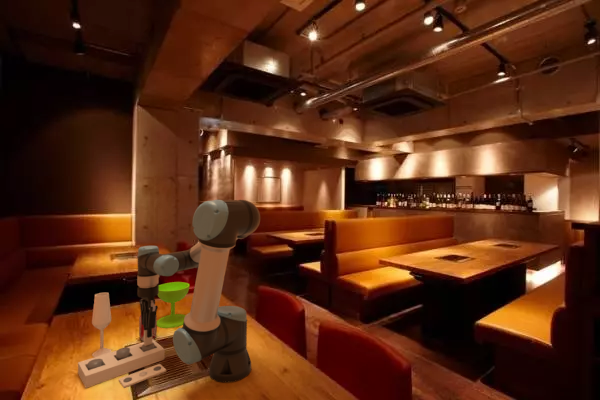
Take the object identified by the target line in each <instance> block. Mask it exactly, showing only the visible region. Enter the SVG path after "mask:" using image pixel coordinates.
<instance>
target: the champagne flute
mask: <svg viewBox="0 0 600 400" xmlns="http://www.w3.org/2000/svg"><path fill="white" fill-rule="evenodd" d="M93 301H94V303H93V311H92V318H91V324H92V326H93V327H94V328H95V329H97V330H99V346H100V347H99V348H98V349H97V350H96V351H94V352H93V353H92V358H94V357H97V356H101V355H104V354H107V353H110V352H112V349H111V348H107V347H105V346H104V345H105V344H104V341H105V340H104V338H105V337H104V335H105V334H104V333H105V332H104V330H105V329H106V328H107V327H108V326H109V325H110V323H111V322H112V313H111V311H112V310H111V304H110V302H111V301H110V294H109V292H99V293H95V294H94V299H93Z"/></svg>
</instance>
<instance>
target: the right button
mask: <svg viewBox="0 0 600 400" xmlns="http://www.w3.org/2000/svg"><path fill="white" fill-rule="evenodd" d="M151 349H154V343H153V342H152V344H150V345H147V346H145V345H144V344H143V345H142V351H143V352H145V351H148V350H151Z"/></svg>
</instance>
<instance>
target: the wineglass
mask: <svg viewBox="0 0 600 400" xmlns="http://www.w3.org/2000/svg"><path fill="white" fill-rule="evenodd" d="M158 285H159V293H158V295H157V297H158V298H159V299H160V300H161V301H163V302H165V303H167V304H170V314H169V315H164V316H162V317H160V318H159V319H157V328H161V329H173V328H180V327H183V323H184V318H185V316H186V315H187V314H182V313H176V303H177V302H180V301H181V300H183V299H184V298H185V297H186V295H187V294H188V293H189V289H190V283H188V282H182V281H174V282H173V281H172V282H167V283H162V284H158Z"/></svg>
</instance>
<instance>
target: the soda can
mask: <svg viewBox="0 0 600 400" xmlns="http://www.w3.org/2000/svg"><path fill="white" fill-rule="evenodd" d="M157 320H158V319H157V314H156V322H155V328H152V339H153V340H155V338H156V337H157V334H158V333H157V331H158V330H157V329H158V326H157ZM138 321H139V322H138V327H139V328H138V329H139V331H138V332H139V340H141V341H142V342H144V327H143V325H142V322H141V314H140V315H139V320H138Z"/></svg>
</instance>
